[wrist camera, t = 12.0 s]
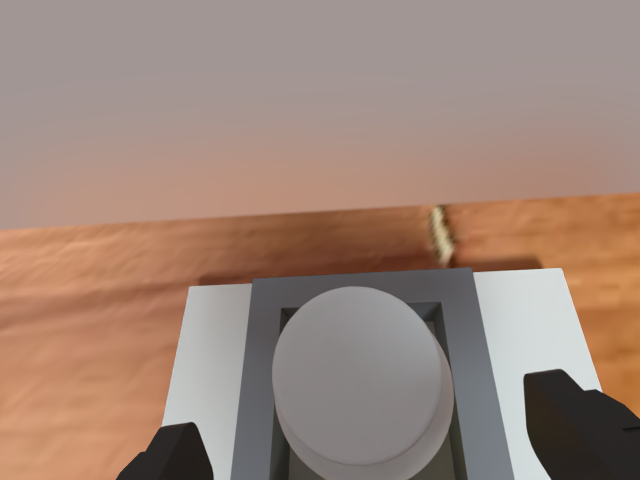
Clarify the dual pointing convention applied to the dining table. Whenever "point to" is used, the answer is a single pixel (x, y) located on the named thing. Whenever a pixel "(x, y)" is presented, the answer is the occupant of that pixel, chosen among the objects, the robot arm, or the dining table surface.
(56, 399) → the dining table surface
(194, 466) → the robot arm
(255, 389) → the collar board
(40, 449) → the dining table surface
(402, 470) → the supplement bottle
